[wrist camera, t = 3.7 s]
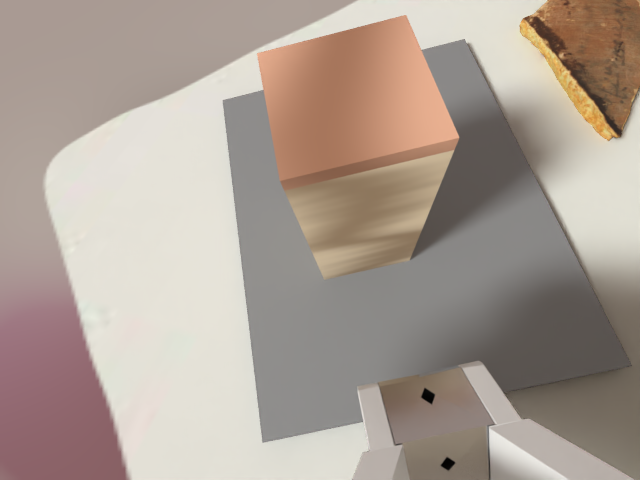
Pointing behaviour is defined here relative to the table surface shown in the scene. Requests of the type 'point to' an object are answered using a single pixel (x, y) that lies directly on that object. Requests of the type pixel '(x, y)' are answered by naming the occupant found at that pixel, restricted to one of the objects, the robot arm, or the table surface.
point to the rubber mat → (413, 275)
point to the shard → (592, 55)
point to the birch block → (358, 142)
